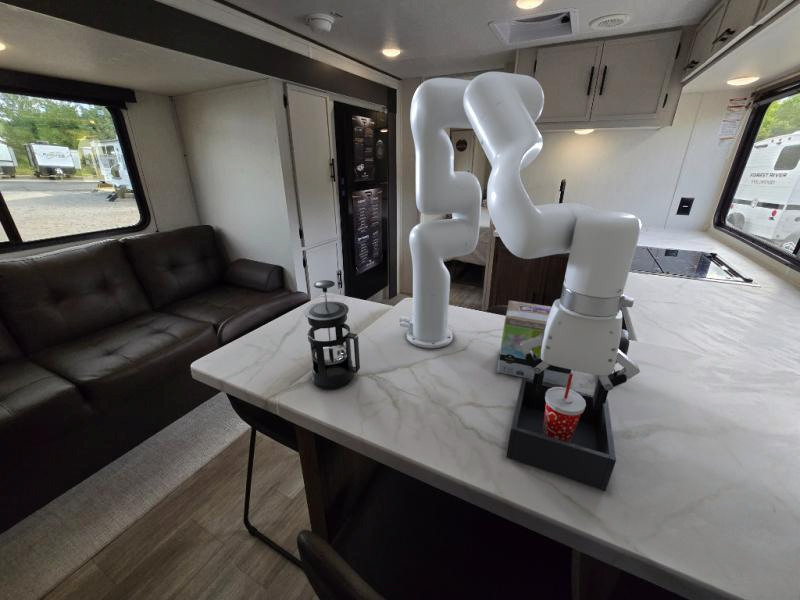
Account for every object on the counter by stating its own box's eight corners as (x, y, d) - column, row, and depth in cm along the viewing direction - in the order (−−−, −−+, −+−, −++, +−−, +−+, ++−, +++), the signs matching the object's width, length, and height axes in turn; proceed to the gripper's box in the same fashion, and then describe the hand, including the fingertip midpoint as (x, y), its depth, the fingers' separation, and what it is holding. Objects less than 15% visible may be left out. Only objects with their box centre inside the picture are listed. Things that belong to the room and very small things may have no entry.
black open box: (505, 457, 57) (510, 428, 54) (517, 403, 69) (522, 377, 66) (605, 491, 51) (616, 460, 49) (599, 425, 63) (607, 398, 61)
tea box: (496, 374, 78) (504, 316, 72) (500, 351, 86) (507, 298, 80) (568, 388, 73) (583, 328, 67) (564, 363, 82) (577, 307, 76)
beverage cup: (533, 424, 63) (546, 361, 57) (568, 428, 62) (584, 364, 57) (541, 451, 57) (556, 383, 52) (579, 455, 57) (599, 387, 51)
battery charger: (617, 388, 73) (632, 342, 69) (597, 382, 75) (610, 337, 70) (617, 371, 79) (631, 328, 74) (599, 366, 80) (611, 323, 76)
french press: (301, 385, 75) (287, 287, 65) (322, 361, 83) (312, 272, 73) (350, 395, 71) (342, 294, 62) (367, 370, 80) (362, 277, 70)
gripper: (656, 300, 49) (624, 397, 56) (528, 282, 55) (514, 371, 63) (668, 322, 42) (630, 428, 50) (523, 299, 49) (508, 395, 56)
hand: (566, 396), depth 56 cm, fingers open, 8 cm apart
